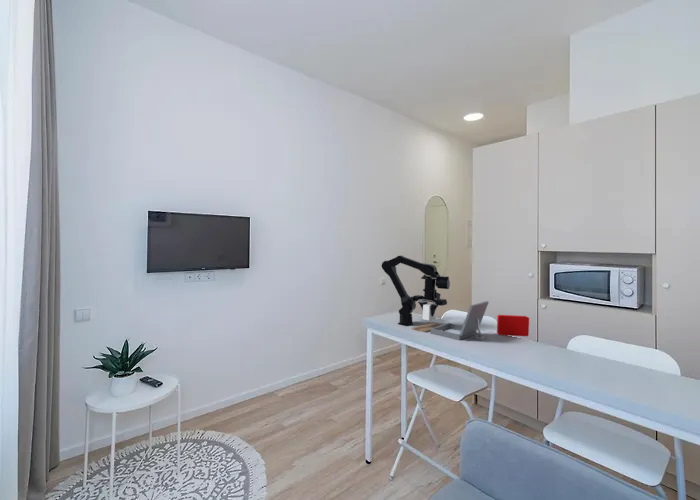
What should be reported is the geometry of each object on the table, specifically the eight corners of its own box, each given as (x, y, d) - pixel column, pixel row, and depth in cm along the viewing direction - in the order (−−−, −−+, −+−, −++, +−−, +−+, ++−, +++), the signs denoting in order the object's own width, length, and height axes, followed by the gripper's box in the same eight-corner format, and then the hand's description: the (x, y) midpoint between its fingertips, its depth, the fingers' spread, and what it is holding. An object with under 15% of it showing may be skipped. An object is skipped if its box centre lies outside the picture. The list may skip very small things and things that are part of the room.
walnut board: (411, 329, 187) (411, 328, 187) (431, 323, 201) (431, 322, 201) (425, 332, 180) (425, 331, 180) (445, 326, 195) (445, 325, 195)
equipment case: (430, 333, 179) (431, 314, 179) (448, 327, 192) (449, 309, 192) (474, 343, 162) (475, 322, 162) (491, 336, 176) (491, 316, 176)
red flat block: (526, 334, 181) (526, 316, 180) (528, 336, 178) (529, 317, 178) (496, 333, 182) (497, 314, 182) (498, 335, 179) (499, 315, 179)
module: (422, 319, 190) (423, 304, 190) (428, 317, 194) (428, 303, 194) (429, 320, 187) (429, 306, 187) (434, 319, 191) (435, 304, 191)
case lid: (470, 305, 164) (472, 306, 163) (486, 301, 177) (488, 301, 177) (459, 334, 168) (461, 336, 167) (476, 328, 181) (478, 329, 181)
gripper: (452, 288, 189) (451, 316, 190) (423, 284, 202) (422, 310, 203) (442, 290, 181) (441, 319, 182) (412, 285, 194) (411, 313, 195)
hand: (428, 315), depth 190 cm, fingers closed on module, 4 cm apart
